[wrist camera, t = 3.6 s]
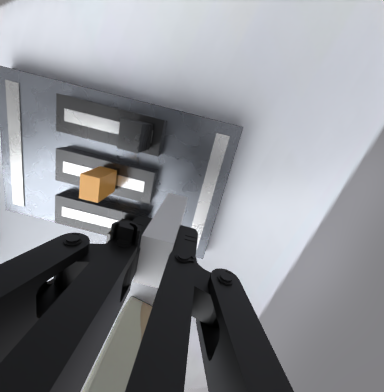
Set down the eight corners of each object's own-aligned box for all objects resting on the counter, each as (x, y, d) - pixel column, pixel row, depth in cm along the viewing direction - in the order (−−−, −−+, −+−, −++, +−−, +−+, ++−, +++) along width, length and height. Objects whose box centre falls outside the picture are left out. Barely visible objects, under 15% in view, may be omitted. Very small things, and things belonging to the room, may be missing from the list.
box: (143, 332, 29) (106, 449, 18) (116, 318, 28) (62, 430, 18) (160, 308, 27) (131, 422, 17) (131, 293, 27) (82, 401, 16)
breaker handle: (100, 166, 18) (80, 173, 15) (117, 170, 18) (100, 178, 15) (98, 187, 19) (78, 198, 16) (114, 191, 19) (97, 203, 16)
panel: (11, 69, 19) (-79, 43, 13) (240, 127, 19) (254, 127, 13) (18, 204, 24) (-46, 231, 18) (203, 251, 24) (201, 292, 18)
